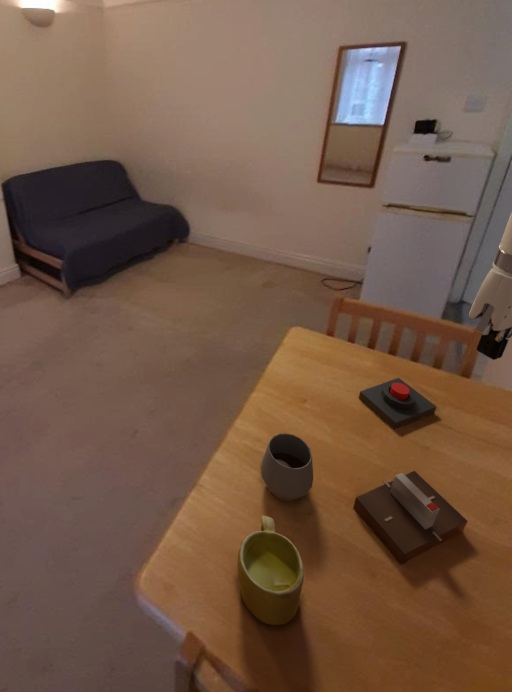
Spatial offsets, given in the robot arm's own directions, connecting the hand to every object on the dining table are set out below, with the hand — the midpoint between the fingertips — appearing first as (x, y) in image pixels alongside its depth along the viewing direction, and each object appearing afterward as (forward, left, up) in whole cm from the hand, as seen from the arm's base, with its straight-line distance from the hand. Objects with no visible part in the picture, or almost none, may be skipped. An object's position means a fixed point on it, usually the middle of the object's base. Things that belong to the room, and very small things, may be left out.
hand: (488, 353), depth 72 cm
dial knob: (+20, +7, -22) cm, 31 cm away
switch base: (+20, +7, -25) cm, 33 cm away
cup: (+36, -6, -25) cm, 44 cm away
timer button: (0, -13, -22) cm, 25 cm away
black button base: (0, -13, -25) cm, 28 cm away
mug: (+48, +6, -25) cm, 55 cm away
